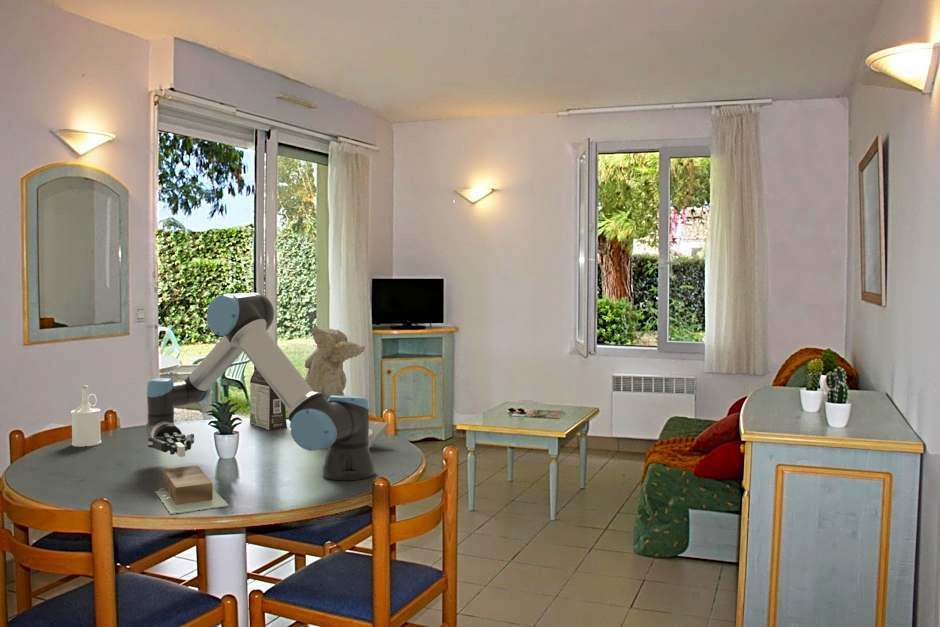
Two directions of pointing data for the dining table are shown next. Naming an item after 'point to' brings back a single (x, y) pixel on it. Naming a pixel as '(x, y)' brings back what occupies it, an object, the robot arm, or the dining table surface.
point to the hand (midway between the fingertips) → (182, 451)
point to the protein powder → (265, 404)
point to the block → (187, 485)
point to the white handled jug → (86, 422)
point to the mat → (191, 507)
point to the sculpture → (329, 361)
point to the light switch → (376, 431)
